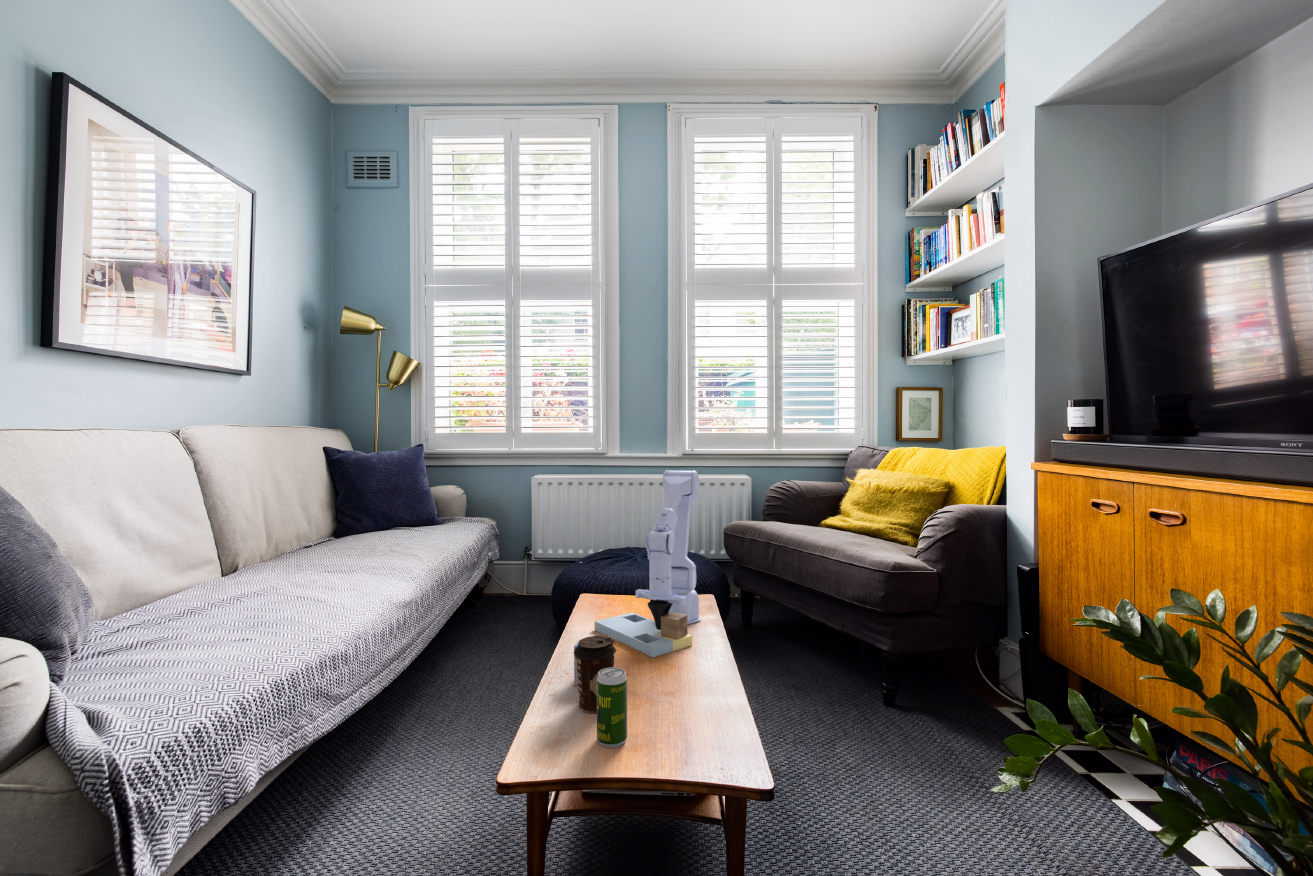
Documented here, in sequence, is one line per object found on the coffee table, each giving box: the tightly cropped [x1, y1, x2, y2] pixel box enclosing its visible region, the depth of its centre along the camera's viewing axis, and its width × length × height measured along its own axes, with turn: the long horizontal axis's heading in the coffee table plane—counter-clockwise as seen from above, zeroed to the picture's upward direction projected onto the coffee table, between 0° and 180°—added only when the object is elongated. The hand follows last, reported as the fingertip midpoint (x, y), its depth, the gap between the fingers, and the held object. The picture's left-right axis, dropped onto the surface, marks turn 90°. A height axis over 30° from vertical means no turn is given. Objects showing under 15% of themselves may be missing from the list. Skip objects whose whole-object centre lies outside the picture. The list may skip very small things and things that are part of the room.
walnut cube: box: [661, 612, 689, 640], centre depth 151 cm, size 5×5×5 cm
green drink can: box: [596, 667, 628, 749], centre depth 103 cm, size 5×5×12 cm
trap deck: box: [594, 612, 693, 658], centre depth 156 cm, size 13×26×2 cm, turn 39°
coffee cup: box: [573, 635, 617, 714], centre depth 116 cm, size 9×8×13 cm
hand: (660, 628), depth 153 cm, fingers closed
